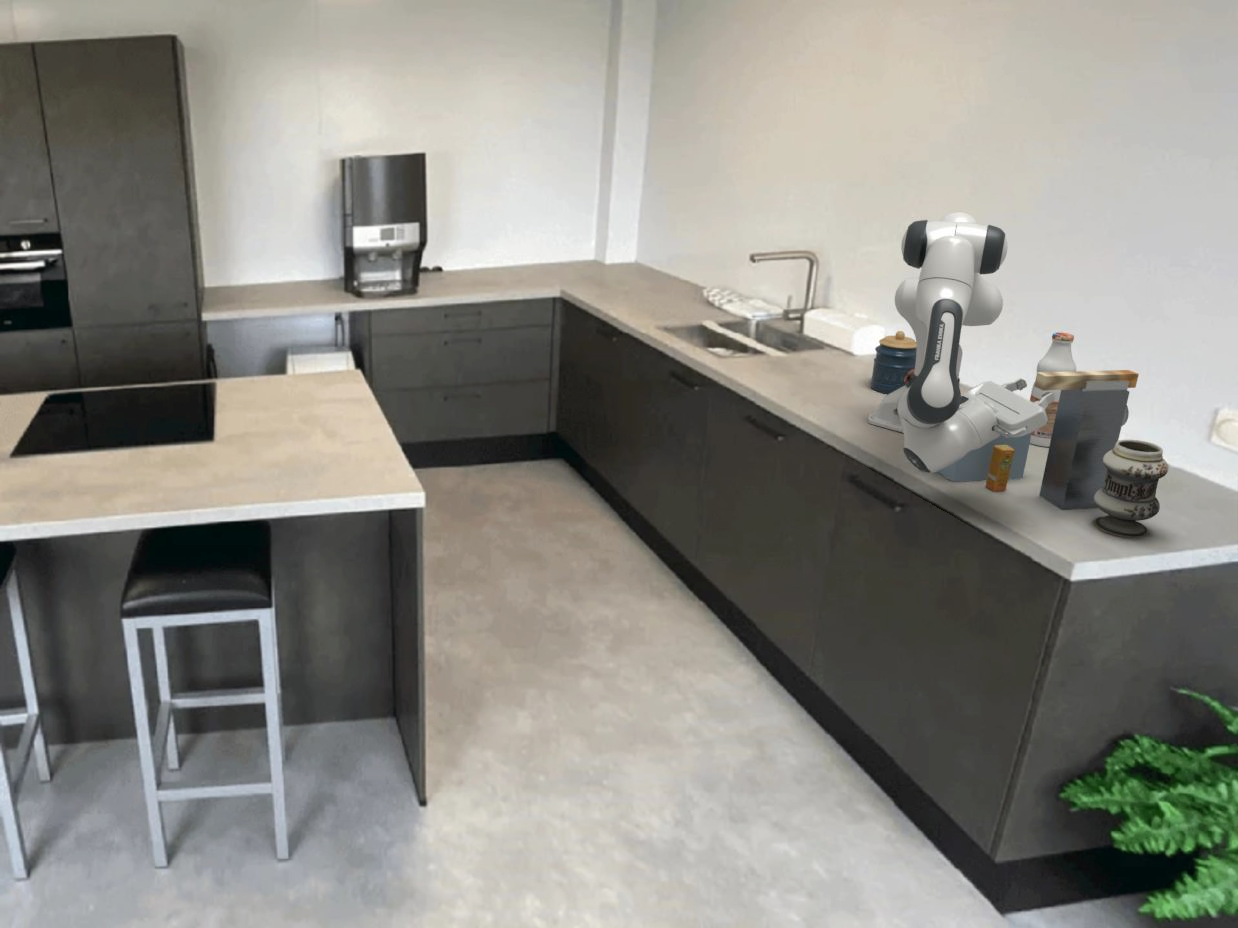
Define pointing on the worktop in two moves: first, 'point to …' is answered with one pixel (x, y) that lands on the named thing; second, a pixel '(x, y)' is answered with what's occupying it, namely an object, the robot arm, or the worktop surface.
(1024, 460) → the pale blue brick
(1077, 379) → the tan wooden bar
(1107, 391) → the housing tower
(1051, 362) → the fruit juice
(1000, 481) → the supplement box
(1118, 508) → the apothecary jar
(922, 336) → the robot arm
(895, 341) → the canister
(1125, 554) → the worktop surface
